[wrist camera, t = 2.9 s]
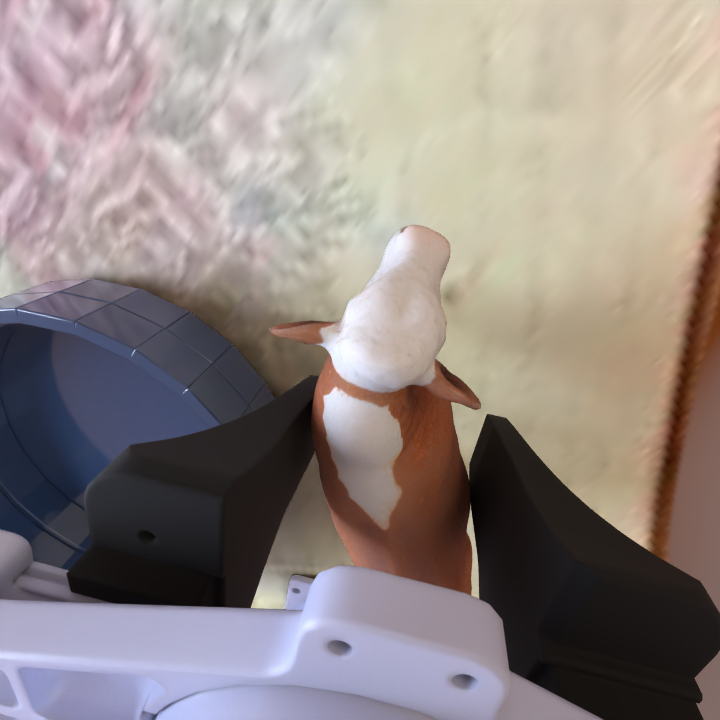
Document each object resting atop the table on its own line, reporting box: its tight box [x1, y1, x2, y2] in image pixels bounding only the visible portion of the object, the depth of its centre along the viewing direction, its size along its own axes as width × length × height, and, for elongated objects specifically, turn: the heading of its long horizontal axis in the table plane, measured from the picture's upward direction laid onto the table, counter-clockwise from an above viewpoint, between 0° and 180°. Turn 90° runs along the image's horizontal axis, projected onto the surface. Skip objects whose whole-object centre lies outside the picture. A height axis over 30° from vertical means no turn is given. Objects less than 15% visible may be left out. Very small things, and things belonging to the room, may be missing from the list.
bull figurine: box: [269, 225, 481, 595], centre depth 13 cm, size 4×13×8 cm, turn 6°
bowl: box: [0, 279, 274, 570], centre depth 21 cm, size 17×17×4 cm
